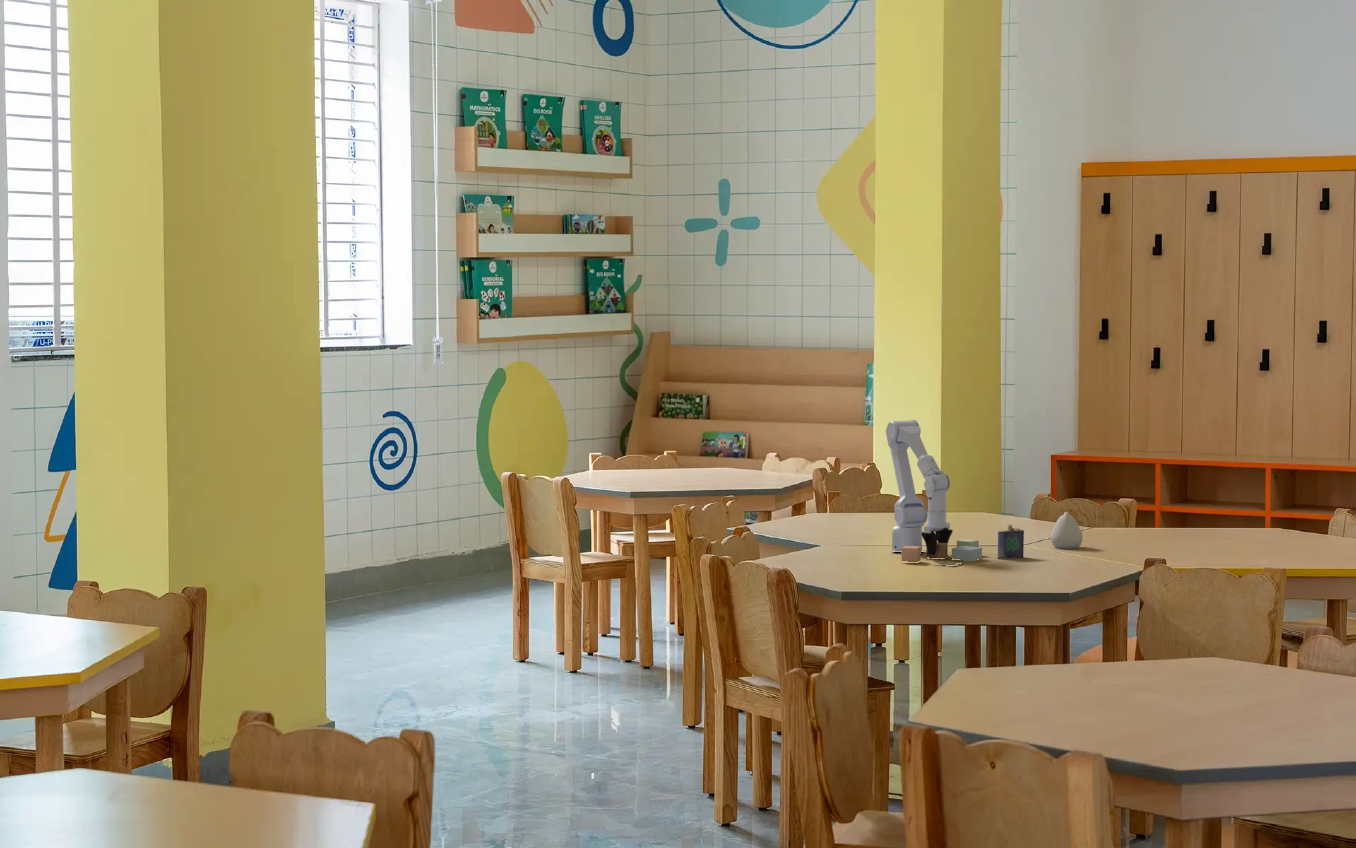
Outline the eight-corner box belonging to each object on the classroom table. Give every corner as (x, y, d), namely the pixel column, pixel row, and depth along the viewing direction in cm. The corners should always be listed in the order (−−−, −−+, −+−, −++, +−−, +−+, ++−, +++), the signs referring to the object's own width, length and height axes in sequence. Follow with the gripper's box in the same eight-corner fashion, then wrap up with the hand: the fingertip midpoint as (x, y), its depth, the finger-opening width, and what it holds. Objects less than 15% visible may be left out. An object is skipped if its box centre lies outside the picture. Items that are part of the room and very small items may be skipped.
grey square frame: (933, 565, 453) (933, 563, 453) (943, 562, 458) (943, 560, 458) (953, 567, 448) (953, 564, 448) (963, 564, 454) (963, 562, 454)
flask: (1000, 559, 464) (1000, 526, 463) (995, 558, 466) (995, 525, 466) (1025, 557, 467) (1025, 524, 466) (1020, 556, 469) (1020, 523, 469)
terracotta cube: (901, 563, 457) (901, 547, 457) (905, 561, 462) (905, 545, 462) (917, 564, 456) (917, 548, 455) (920, 562, 460) (920, 546, 460)
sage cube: (956, 555, 473) (956, 540, 473) (965, 554, 477) (965, 539, 476) (969, 557, 470) (969, 541, 469) (978, 555, 473) (978, 540, 473)
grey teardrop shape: (1083, 550, 482) (1084, 514, 482) (1051, 549, 484) (1051, 513, 484) (1081, 546, 492) (1081, 510, 492) (1049, 545, 495) (1050, 510, 494)
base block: (951, 560, 463) (951, 548, 463) (962, 558, 469) (962, 546, 468) (971, 562, 459) (971, 550, 459) (981, 560, 464) (981, 547, 464)
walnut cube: (926, 559, 466) (926, 543, 466) (933, 557, 470) (933, 542, 470) (940, 560, 463) (940, 545, 463) (947, 558, 467) (947, 543, 467)
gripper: (938, 514, 458) (938, 556, 458) (958, 509, 469) (958, 551, 470) (917, 512, 462) (918, 555, 463) (938, 508, 473) (938, 549, 474)
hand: (937, 553), depth 466 cm, fingers open, 7 cm apart
